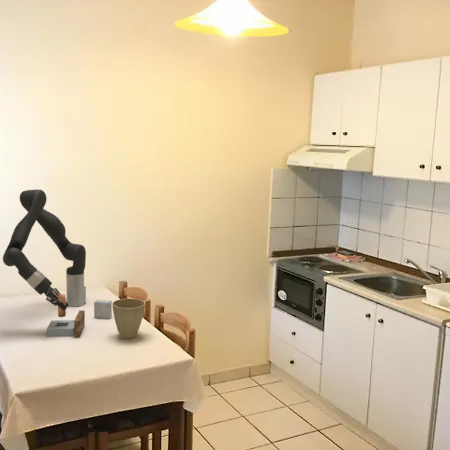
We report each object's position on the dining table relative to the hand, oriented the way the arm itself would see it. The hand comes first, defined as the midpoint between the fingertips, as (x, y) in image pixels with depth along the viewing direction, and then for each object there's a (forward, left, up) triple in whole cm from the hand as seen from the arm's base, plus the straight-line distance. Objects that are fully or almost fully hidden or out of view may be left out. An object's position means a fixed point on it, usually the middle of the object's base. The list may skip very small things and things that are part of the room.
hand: (66, 307), depth 263 cm
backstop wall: (-5, +4, -12) cm, 13 cm away
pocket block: (+1, -1, -12) cm, 12 cm away
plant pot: (-19, +23, -12) cm, 32 cm away
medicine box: (-25, -7, -12) cm, 28 cm away
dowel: (+2, -1, -4) cm, 4 cm away
